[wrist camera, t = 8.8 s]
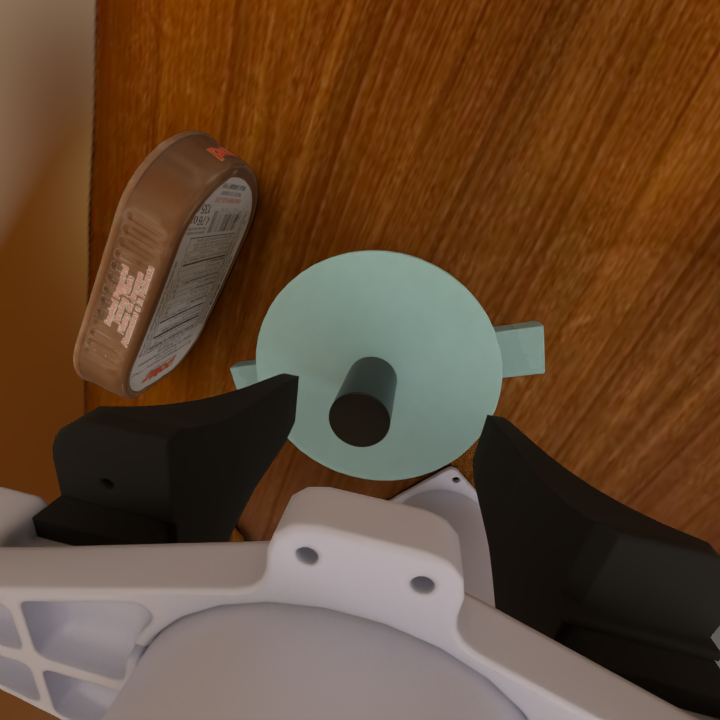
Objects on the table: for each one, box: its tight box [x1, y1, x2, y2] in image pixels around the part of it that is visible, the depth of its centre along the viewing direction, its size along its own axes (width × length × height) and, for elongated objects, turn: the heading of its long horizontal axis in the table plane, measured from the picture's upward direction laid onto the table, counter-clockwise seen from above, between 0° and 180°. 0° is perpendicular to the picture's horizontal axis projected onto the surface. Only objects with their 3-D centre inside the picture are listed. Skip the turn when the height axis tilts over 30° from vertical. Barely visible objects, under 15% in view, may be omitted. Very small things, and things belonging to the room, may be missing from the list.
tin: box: [73, 131, 258, 399], centre depth 20 cm, size 15×3×8 cm, turn 149°
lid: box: [256, 250, 502, 480], centre depth 16 cm, size 12×12×5 cm
